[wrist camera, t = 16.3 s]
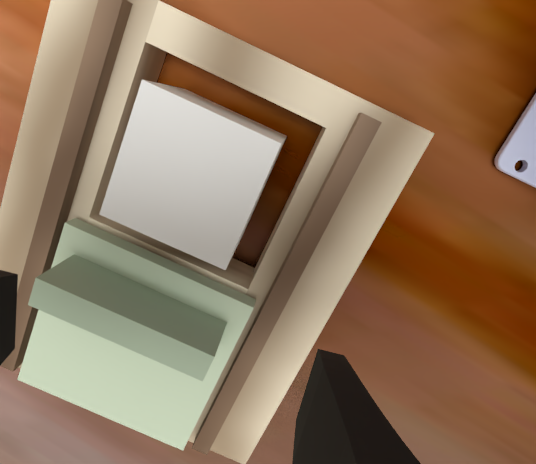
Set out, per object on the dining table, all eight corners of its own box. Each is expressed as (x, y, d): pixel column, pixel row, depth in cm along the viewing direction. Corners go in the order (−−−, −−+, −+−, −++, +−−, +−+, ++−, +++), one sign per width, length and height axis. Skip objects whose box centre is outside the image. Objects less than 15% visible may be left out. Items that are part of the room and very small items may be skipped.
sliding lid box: (416, 130, 17) (441, 134, 14) (250, 427, 22) (242, 478, 19) (96, -24, 17) (48, -56, 13) (3, 319, 22) (-47, 354, 19)
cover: (256, 299, 17) (245, 340, 14) (187, 437, 20) (165, 498, 17) (75, 217, 17) (23, 241, 14) (28, 369, 19) (-25, 418, 16)
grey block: (287, 135, 18) (281, 143, 13) (244, 232, 19) (225, 270, 15) (185, 89, 18) (141, 79, 13) (149, 189, 19) (98, 214, 14)
